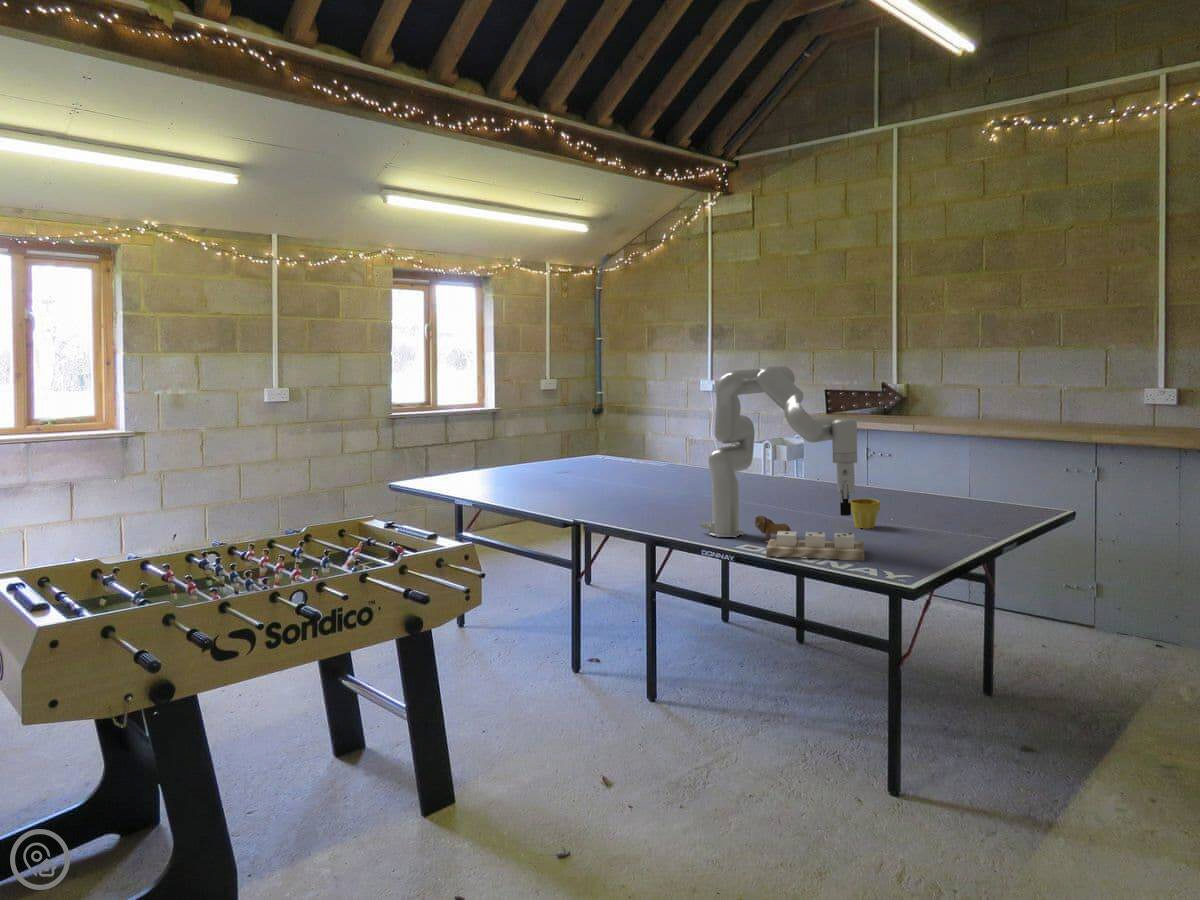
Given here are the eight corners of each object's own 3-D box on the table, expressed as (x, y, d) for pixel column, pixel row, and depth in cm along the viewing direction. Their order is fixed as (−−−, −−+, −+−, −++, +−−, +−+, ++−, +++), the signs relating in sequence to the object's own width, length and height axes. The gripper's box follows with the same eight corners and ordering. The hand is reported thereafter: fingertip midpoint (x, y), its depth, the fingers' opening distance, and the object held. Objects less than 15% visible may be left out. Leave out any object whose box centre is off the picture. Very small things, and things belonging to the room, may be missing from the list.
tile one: (776, 547, 279) (776, 534, 278) (778, 543, 285) (778, 530, 284) (795, 547, 277) (795, 535, 277) (796, 543, 283) (796, 531, 283)
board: (766, 557, 277) (766, 547, 276) (769, 547, 289) (769, 538, 289) (864, 560, 269) (864, 551, 268) (863, 550, 281) (863, 541, 281)
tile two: (805, 548, 276) (805, 535, 276) (806, 543, 282) (806, 531, 282) (824, 548, 275) (824, 535, 274) (825, 544, 281) (825, 531, 280)
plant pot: (857, 531, 310) (857, 504, 309) (845, 525, 320) (845, 499, 319) (884, 529, 311) (884, 502, 310) (871, 523, 321) (872, 497, 320)
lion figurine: (753, 542, 298) (752, 516, 296) (757, 539, 302) (756, 513, 301) (795, 545, 291) (795, 519, 290) (799, 542, 296) (799, 516, 295)
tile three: (834, 549, 274) (834, 536, 274) (834, 544, 280) (834, 532, 279) (854, 549, 272) (854, 536, 272) (854, 545, 278) (854, 532, 278)
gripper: (857, 460, 264) (858, 519, 266) (857, 454, 279) (857, 510, 281) (832, 460, 266) (833, 519, 268) (833, 455, 281) (833, 510, 283)
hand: (845, 514), depth 274 cm, fingers closed
